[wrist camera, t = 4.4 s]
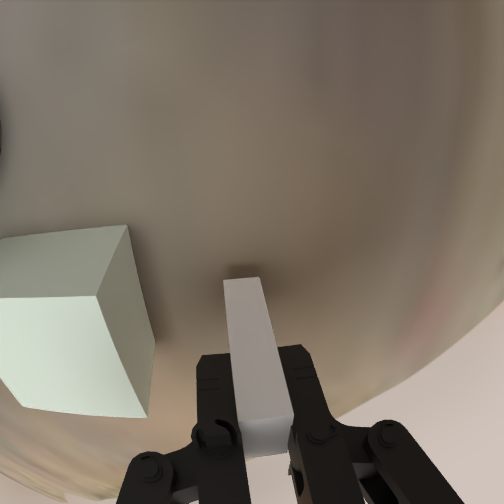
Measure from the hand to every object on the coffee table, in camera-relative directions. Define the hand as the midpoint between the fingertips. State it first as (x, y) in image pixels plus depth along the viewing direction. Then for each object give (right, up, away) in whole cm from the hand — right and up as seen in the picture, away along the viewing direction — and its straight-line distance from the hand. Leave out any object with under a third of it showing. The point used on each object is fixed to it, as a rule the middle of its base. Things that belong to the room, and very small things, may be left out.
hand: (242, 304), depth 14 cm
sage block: (-8, 0, +1) cm, 8 cm away
